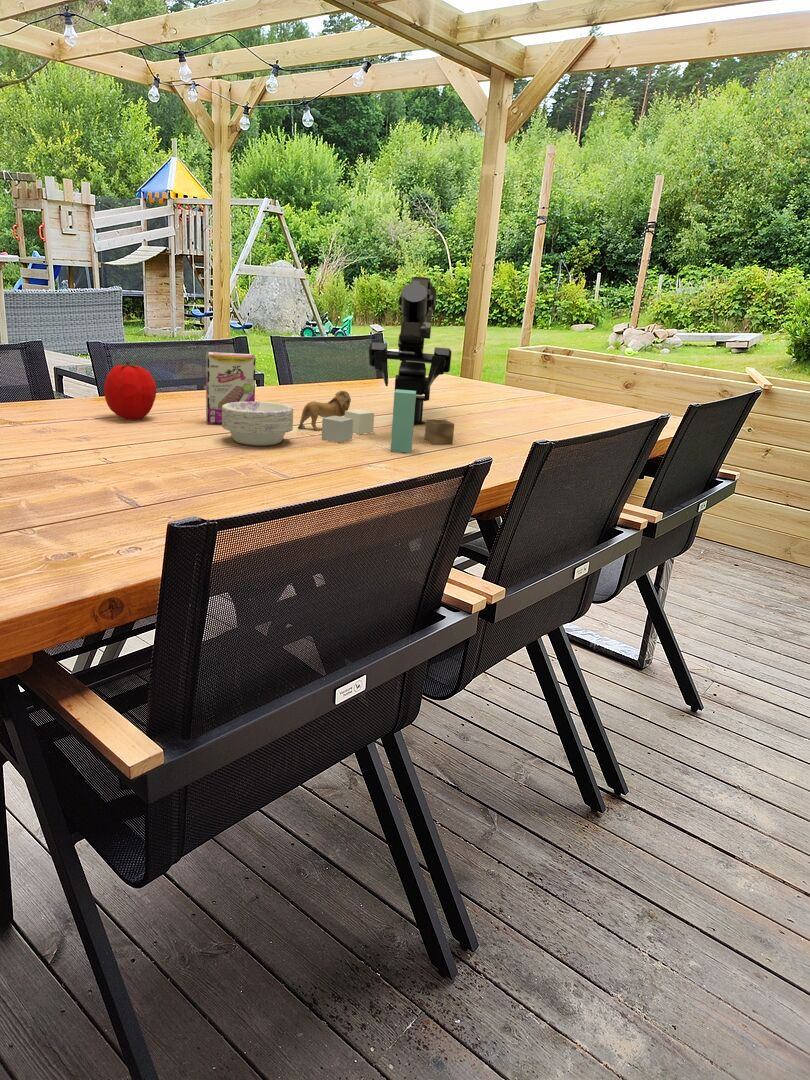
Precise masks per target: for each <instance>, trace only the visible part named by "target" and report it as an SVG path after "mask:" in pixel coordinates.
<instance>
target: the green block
mask: <svg viewBox="0 0 810 1080" xmlns="http://www.w3.org/2000/svg"><path fill="white" fill-rule="evenodd" d="M415 400H416V391H411V390H399V389H396V390H395V389H394V394H393V408H392V423H391V438H390V439H391V440H390V442H391V443H390V451H395V452H394V453H398V452H407V453H406V454H412V449H413V437H414V426H415V424H414V413H415Z"/></svg>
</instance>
